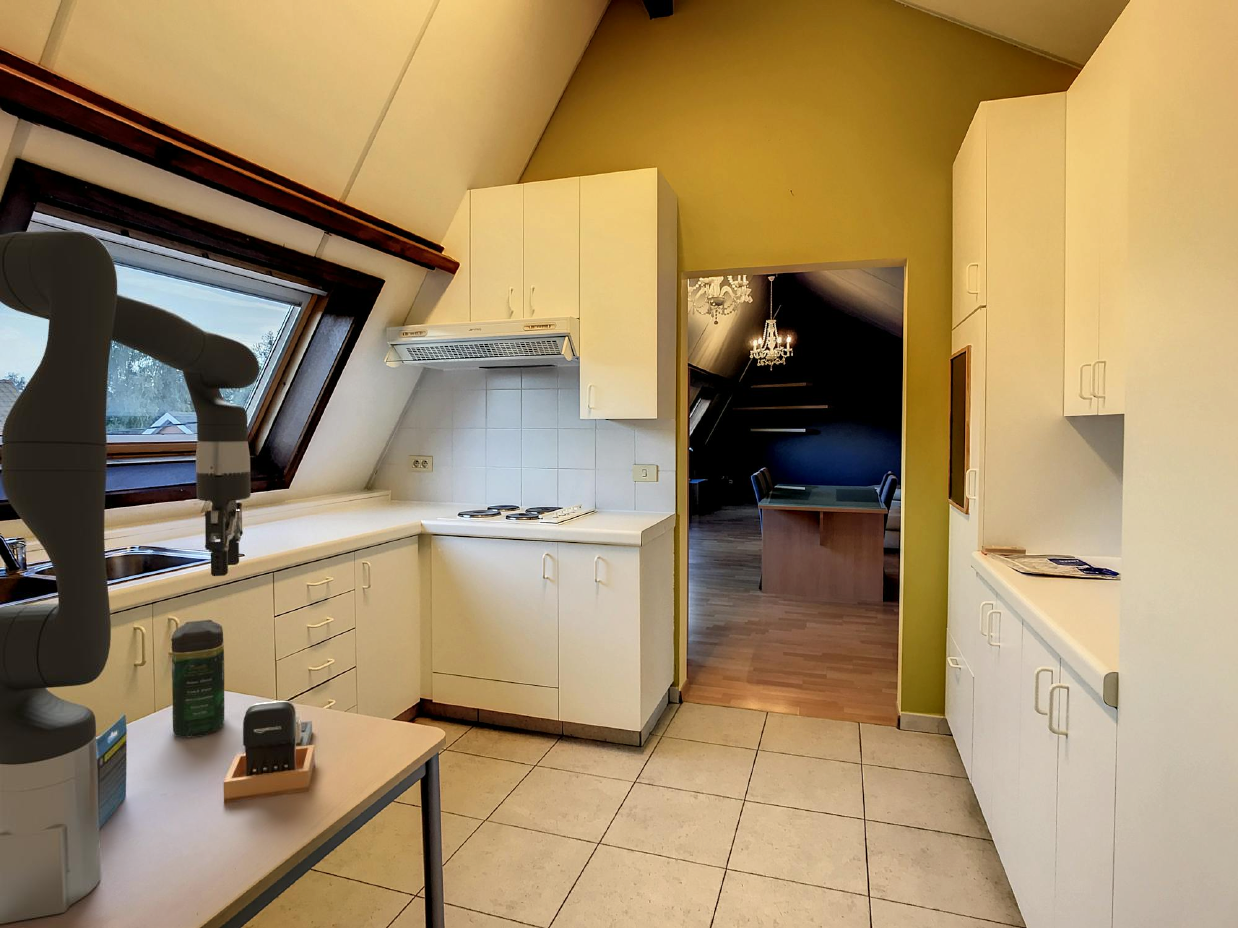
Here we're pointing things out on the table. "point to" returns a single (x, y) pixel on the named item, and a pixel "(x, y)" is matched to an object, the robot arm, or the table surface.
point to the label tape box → (111, 769)
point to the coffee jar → (197, 678)
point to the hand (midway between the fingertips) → (225, 569)
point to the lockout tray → (268, 778)
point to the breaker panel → (304, 734)
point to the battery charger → (270, 737)
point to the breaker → (298, 729)
